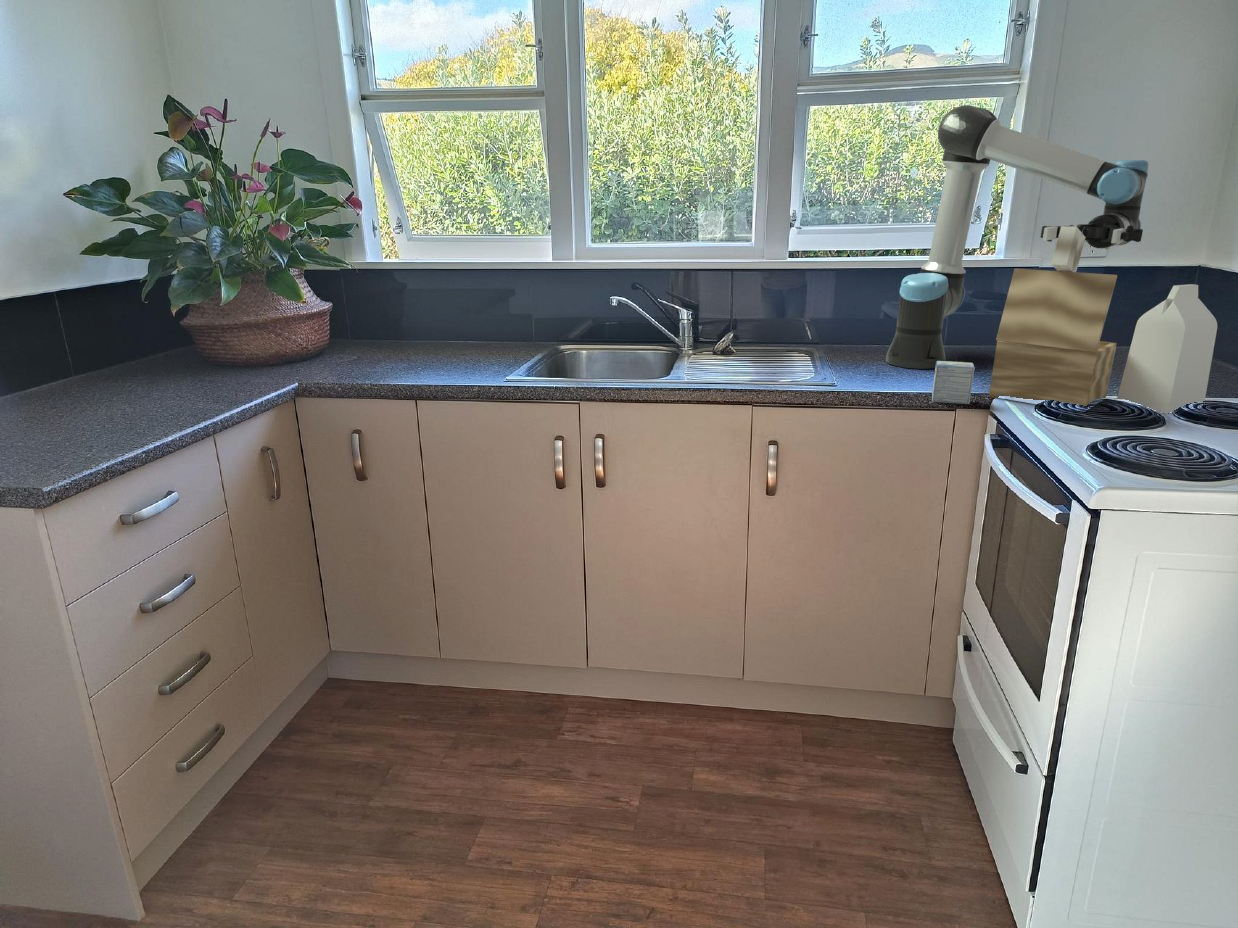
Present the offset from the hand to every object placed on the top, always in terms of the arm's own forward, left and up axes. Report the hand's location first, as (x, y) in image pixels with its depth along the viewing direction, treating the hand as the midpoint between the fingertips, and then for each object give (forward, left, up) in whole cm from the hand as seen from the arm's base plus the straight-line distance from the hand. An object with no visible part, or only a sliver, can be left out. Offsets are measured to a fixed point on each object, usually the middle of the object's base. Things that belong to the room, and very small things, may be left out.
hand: (1078, 235), depth 174 cm
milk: (+21, +2, -36) cm, 42 cm away
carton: (-1, -3, -36) cm, 36 cm away
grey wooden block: (-20, -16, -36) cm, 44 cm away
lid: (-1, -4, -12) cm, 13 cm away
